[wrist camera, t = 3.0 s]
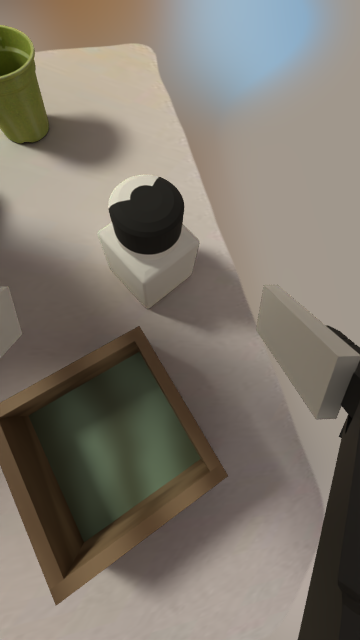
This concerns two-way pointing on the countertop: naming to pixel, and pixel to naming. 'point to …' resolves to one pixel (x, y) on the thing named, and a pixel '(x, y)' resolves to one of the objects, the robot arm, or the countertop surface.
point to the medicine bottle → (148, 238)
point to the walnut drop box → (101, 459)
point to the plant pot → (20, 89)
